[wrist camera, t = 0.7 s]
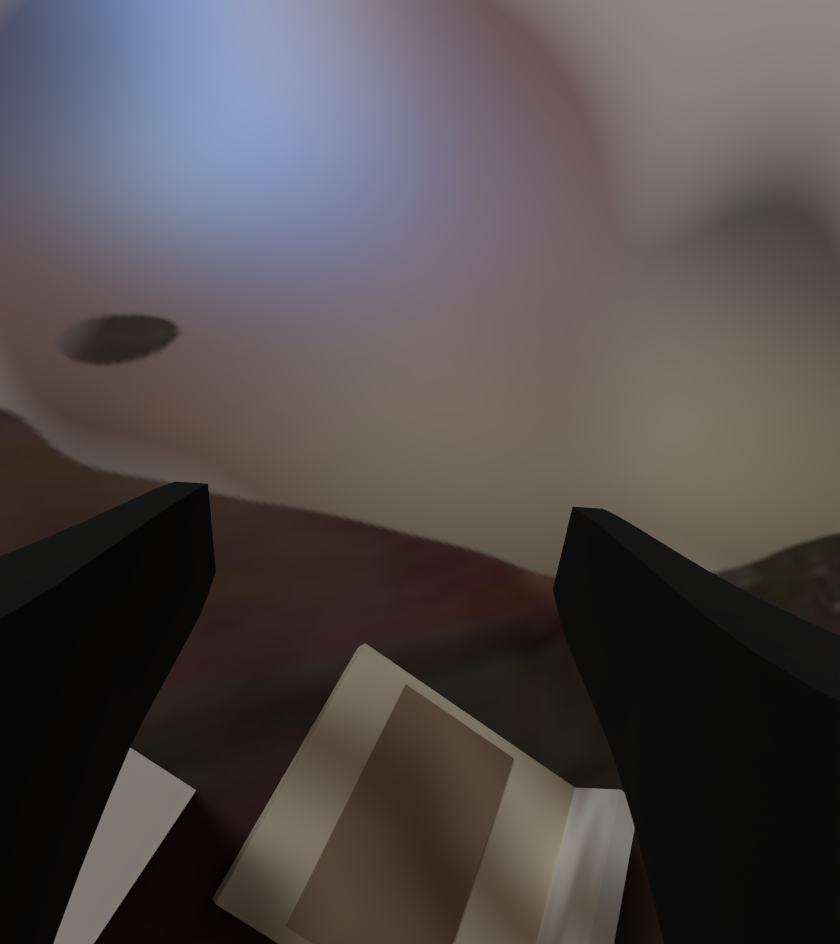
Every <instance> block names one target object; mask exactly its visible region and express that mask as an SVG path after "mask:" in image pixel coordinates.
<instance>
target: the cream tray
mask: <svg viewBox="0 0 840 944" xmlns="http://www.w3.org/2000/svg"><path fill="white" fill-rule="evenodd" d="M634 828H635V827H634V824H633V820H632V816H631V813H630V810H629V806H628V803H627V800H626V796H625V793H624V792H623V791H621V790H616V789H592V788H574V787H573V786H572V785H570V784H569V783H567V782H566V781H564V780H563V779H561V778H560V777H558V776H557V775H556V774H554V773H553V772H551V771H550V770H548V769H547V768H545V767H544V766H543V765H541V764H540V763H538V762H537V761H535V760H534V759H532V758H531V757H529V756H528V755H527V754H525V753H524V752H522V751H521V750H519V749H518V748H516V747H515V746H513V745H512V744H511V743H509V742H508V741H506V740H505V739H503V738H502V737H500V736H499V735H497V734H496V733H495V732H493V731H492V730H490V729H489V728H487V727H486V726H484V725H483V724H482V723H480V722H479V721H477V720H476V719H474V718H473V717H471V716H470V715H468V714H467V713H466V712H464V711H463V710H461V709H460V708H458V707H457V706H455V705H454V704H452V703H451V702H450V701H448V700H447V699H445V698H444V697H442V696H441V695H439V694H438V693H437V692H435V691H434V690H432V689H431V688H429V687H428V686H426V685H425V684H423V683H422V682H421V681H419V680H418V679H416V678H415V677H413V676H412V675H410V674H409V673H407V672H406V671H405V670H403V669H402V668H400V667H399V666H397V665H396V664H394V663H393V662H392V661H390V660H389V659H387V658H386V657H384V656H383V655H381V654H380V653H378V652H377V651H376V650H374V649H373V648H371V647H370V646H368V645H367V644H365V643H364V644H363V645H361V646H359V647H358V648H357V650H356V652H355V654H354V655H353V657H352V659H351V661H350V662H349V664H348V666H347V667H346V669H345V671H344V673H343V674H342V676H341V678H340V679H339V681H338V683H337V685H336V686H335V688H334V690H333V692H332V693H331V695H330V697H329V698H328V700H327V702H326V704H325V705H324V707H323V709H322V711H321V712H320V714H319V716H318V717H317V719H316V721H315V723H314V724H313V726H312V728H311V729H310V731H309V733H308V735H307V736H306V738H305V740H304V742H303V743H302V745H301V747H300V748H299V750H298V752H297V754H296V755H295V757H294V759H293V761H292V762H291V764H290V766H289V767H288V769H287V771H286V773H285V774H284V776H283V778H282V779H281V781H280V783H279V785H278V786H277V788H276V790H275V792H274V793H273V795H272V797H271V798H270V800H269V802H268V804H267V805H266V807H265V809H264V811H263V812H262V814H261V816H260V817H259V819H258V821H257V823H256V824H255V826H254V828H253V829H252V831H251V833H250V835H249V836H248V838H247V840H246V842H245V843H244V845H243V847H242V848H241V850H240V852H239V854H238V855H237V857H236V859H235V861H234V862H233V864H232V866H231V867H230V869H229V871H228V873H227V874H226V876H225V878H224V879H223V881H222V883H221V885H220V886H219V888H218V890H217V892H216V893H215V895H214V897H213V900H214V902H215V904H216V905H218V906H219V907H221V908H223V909H224V910H226V911H227V912H229V913H230V914H232V915H234V916H235V917H237V918H238V919H240V920H242V921H243V922H245V923H246V924H248V925H249V926H251V927H253V928H254V929H256V930H257V931H259V932H261V933H262V934H264V935H265V936H267V937H268V938H270V939H272V940H273V941H275V942H276V943H278V944H614V941H615V935H616V930H617V924H618V918H619V913H620V907H621V902H622V896H623V890H624V885H625V879H626V873H627V868H628V862H629V856H630V851H631V845H632V839H633V834H634Z"/></svg>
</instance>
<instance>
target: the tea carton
mask: <svg viewBox="0 0 840 944" xmlns="http://www.w3.org/2000/svg"><path fill="white" fill-rule="evenodd" d="M195 791H196V790H195V789H193V788H192V787H190V786H189V785H187V784H185V783H184V782H182V781H181V780H179V779H178V778H176V777H175V776H173V775H172V774H170V773H169V772H167V771H165V770H164V769H162V768H161V767H159V766H158V765H156V764H155V763H153V762H152V761H150V760H148V759H147V758H145V757H144V756H142V755H141V754H139V753H138V752H136V751H135V750H133V749H131V748H130V749H129V751H128V754H127V756H126V758H125V761H124V763H123V765H122V768H121V770H120V773H119V775H118V777H117V780H116V782H115V785H114V787H113V789H112V792H111V794H110V796H109V799H108V801H107V804H106V806H105V809H104V811H103V814H102V816H101V819H100V821H99V824H98V827H97V829H96V832H95V834H94V837H93V839H92V842H91V844H90V847H89V849H88V852H87V854H86V857H85V860H84V862H83V865H82V867H81V870H80V872H79V875H78V878H77V881H76V883H75V886H74V889H73V892H72V894H71V897H70V900H69V902H68V905H67V908H66V911H65V913H64V916H63V919H62V921H61V924H60V927H59V930H58V932H57V935H56V938H55V941H54V943H53V944H94V943H95V941H96V940H97V938H98V937H99V935H100V934H101V932H102V931H103V929H104V928H105V926H106V925H107V923H108V922H109V920H110V919H111V917H112V916H113V914H114V913H115V911H116V910H117V908H118V907H119V905H120V904H121V902H122V901H123V899H124V898H125V896H126V895H127V893H128V892H129V890H130V889H131V887H132V886H133V884H134V883H135V881H136V880H137V878H138V877H139V875H140V874H141V872H142V871H143V869H144V868H145V866H146V865H147V863H148V862H149V860H150V859H151V857H152V856H153V854H154V853H155V851H156V850H157V848H158V847H159V845H160V844H161V842H162V841H163V839H164V838H165V836H166V835H167V833H168V832H169V830H170V829H171V827H172V826H173V824H174V823H175V821H176V820H177V818H178V817H179V815H180V814H181V812H182V811H183V809H184V808H185V806H186V805H187V803H188V802H189V800H190V799H191V797H192V796H193V794H194V793H195Z"/></svg>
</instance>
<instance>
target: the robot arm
mask: <svg viewBox="0 0 840 944" xmlns="http://www.w3.org/2000/svg"><path fill="white" fill-rule="evenodd" d="M215 573H216V569H215V558H214V547H213V536H212V525H211V513H210V502H209V491H208V484H202V483H187V482H173V483H170V484H167V485H164V486H162V487H159V488H157V489H154V490H152V491H150V492H147V493H145V494H143V495H141V496H139V497H136V498H134V499H132V500H130V501H128V502H126V503H123V504H121V505H119V506H117V507H115V508H113V509H110V510H108V511H106V512H104V513H102V514H100V515H97V516H95V517H93V518H91V519H89V520H87V521H84V522H82V523H80V524H77V525H75V526H73V527H70V528H68V529H66V530H63V531H61V532H59V533H56V534H54V535H51V536H49V537H47V538H44V539H42V540H40V541H37V542H35V543H32V544H30V545H28V546H25V547H23V548H20V549H18V550H15V551H12V552H10V553H7V554H5V555H2V556H0V944H53V943H54V941H55V938H56V935H57V932H58V930H59V927H60V924H61V921H62V919H63V916H64V913H65V911H66V908H67V905H68V902H69V900H70V897H71V894H72V892H73V889H74V886H75V883H76V881H77V878H78V875H79V872H80V870H81V867H82V865H83V862H84V860H85V857H86V854H87V852H88V849H89V847H90V844H91V842H92V839H93V837H94V834H95V832H96V829H97V827H98V824H99V821H100V819H101V816H102V814H103V811H104V809H105V806H106V804H107V801H108V799H109V796H110V794H111V792H112V789H113V787H114V785H115V782H116V780H117V777H118V775H119V773H120V770H121V768H122V765H123V763H124V761H125V758H126V756H127V754H128V751H129V749H130V746H131V744H132V742H133V740H134V738H135V736H136V734H137V732H138V730H139V728H140V726H141V724H142V722H143V720H144V718H145V716H146V714H147V712H148V710H149V709H150V707H151V705H152V703H153V701H154V699H155V698H156V696H157V694H158V692H159V690H160V688H161V687H162V685H163V683H164V681H165V679H166V677H167V676H168V674H169V672H170V670H171V668H172V666H173V665H174V663H175V661H176V659H177V657H178V656H179V654H180V652H181V650H182V648H183V646H184V644H185V643H186V641H187V639H188V637H189V635H190V633H191V631H192V629H193V628H194V626H195V624H196V622H197V620H198V618H199V616H200V614H201V611H202V608H203V606H204V603H205V601H206V598H207V595H208V593H209V590H210V587H211V584H212V581H213V578H214V575H215ZM553 592H554V596H555V601H556V605H557V609H558V614H559V617H560V621H561V625H562V628H563V632H564V635H565V637H566V640H567V643H568V645H569V648H570V650H571V653H572V655H573V657H574V660H575V662H576V665H577V667H578V670H579V672H580V675H581V677H582V679H583V682H584V684H585V687H586V689H587V691H588V694H589V696H590V699H591V701H592V703H593V706H594V708H595V711H596V713H597V715H598V718H599V720H600V723H601V725H602V727H603V730H604V732H605V735H606V738H607V740H608V743H609V746H610V748H611V751H612V754H613V757H614V760H615V763H616V766H617V769H618V773H619V776H620V779H621V783H622V786H623V790H624V793H625V796H626V800H627V803H628V806H629V810H630V813H631V816H632V820H633V824H634V827H635V831H636V835H637V838H638V842H639V846H640V849H641V853H642V857H643V860H644V864H645V868H646V871H647V875H648V879H649V883H650V887H651V891H652V895H653V899H654V903H655V907H656V911H657V915H658V920H659V924H660V928H661V932H662V936H663V940H664V944H840V635H837V634H835V633H832V632H830V631H828V630H825V629H823V628H821V627H818V626H816V625H814V624H812V623H809V622H807V621H805V620H803V619H801V618H799V617H796V616H794V615H792V614H790V613H788V612H786V611H784V610H782V609H780V608H778V607H775V606H773V605H771V604H769V603H767V602H765V601H763V600H761V599H759V598H757V597H755V596H753V595H751V594H749V593H747V592H745V591H744V590H742V589H740V588H738V587H736V586H734V585H733V584H731V583H729V582H727V581H725V580H724V579H722V578H720V577H718V576H716V575H715V574H713V573H711V572H709V571H708V570H706V569H704V568H702V567H701V566H699V565H697V564H696V563H694V562H692V561H691V560H689V559H687V558H686V557H684V556H682V555H681V554H679V553H677V552H676V551H674V550H672V549H671V548H669V547H667V546H666V545H664V544H663V543H661V542H659V541H658V540H656V539H655V538H653V537H651V536H650V535H648V534H647V533H645V532H643V531H642V530H640V529H638V528H637V527H635V526H634V525H632V524H630V523H628V522H627V521H625V520H623V519H622V518H620V517H618V516H616V515H614V514H612V513H610V512H608V511H606V510H604V509H598V508H582V507H573V508H572V512H571V516H570V520H569V524H568V528H567V533H566V537H565V542H564V545H563V549H562V554H561V558H560V562H559V566H558V570H557V574H556V579H555V583H554V587H553Z"/></svg>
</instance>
